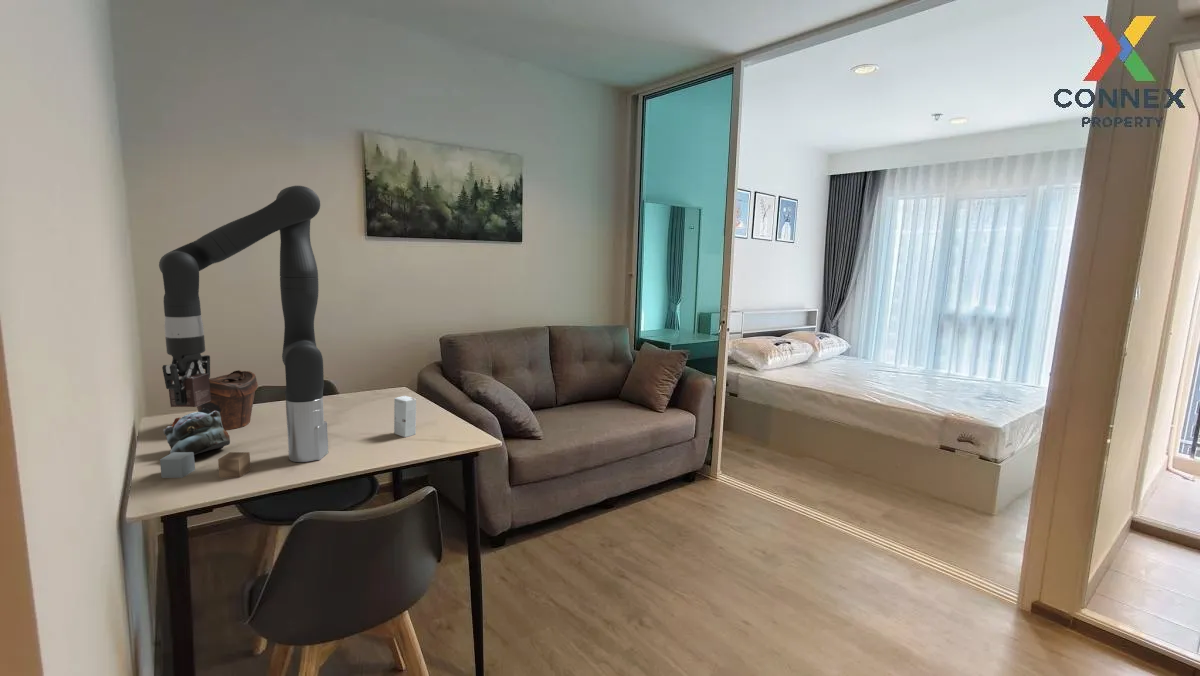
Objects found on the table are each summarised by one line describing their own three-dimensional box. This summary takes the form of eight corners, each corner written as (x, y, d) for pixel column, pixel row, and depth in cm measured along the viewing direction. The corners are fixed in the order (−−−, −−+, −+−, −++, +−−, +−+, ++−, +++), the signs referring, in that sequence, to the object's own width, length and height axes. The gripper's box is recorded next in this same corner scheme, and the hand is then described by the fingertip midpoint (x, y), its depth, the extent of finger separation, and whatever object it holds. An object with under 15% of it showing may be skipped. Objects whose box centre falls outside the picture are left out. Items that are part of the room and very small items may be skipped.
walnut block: (250, 470, 144) (249, 452, 143) (239, 477, 139) (238, 459, 139) (230, 470, 144) (229, 452, 143) (219, 477, 139) (218, 459, 138)
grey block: (195, 470, 143) (193, 452, 142) (182, 477, 138) (180, 459, 137) (175, 470, 143) (173, 452, 142) (161, 478, 138) (159, 459, 137)
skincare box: (393, 433, 176) (392, 397, 174) (405, 430, 180) (404, 395, 178) (405, 437, 172) (404, 401, 171) (417, 434, 176) (416, 398, 174)
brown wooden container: (266, 413, 192) (262, 364, 189) (252, 431, 174) (247, 377, 171) (207, 418, 186) (201, 367, 183) (186, 437, 168) (179, 381, 165)
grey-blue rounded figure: (162, 465, 145) (148, 417, 146) (182, 467, 156) (168, 422, 158) (224, 444, 150) (210, 397, 152) (239, 447, 161) (226, 403, 163)
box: (211, 401, 137) (209, 373, 136) (195, 408, 131) (192, 378, 130) (187, 400, 137) (184, 372, 136) (169, 407, 131) (166, 378, 130)
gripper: (181, 339, 125) (187, 409, 127) (219, 330, 139) (224, 393, 141) (146, 338, 124) (153, 409, 127) (188, 329, 138) (193, 393, 141)
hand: (190, 400), depth 134 cm, fingers closed on box, 6 cm apart
